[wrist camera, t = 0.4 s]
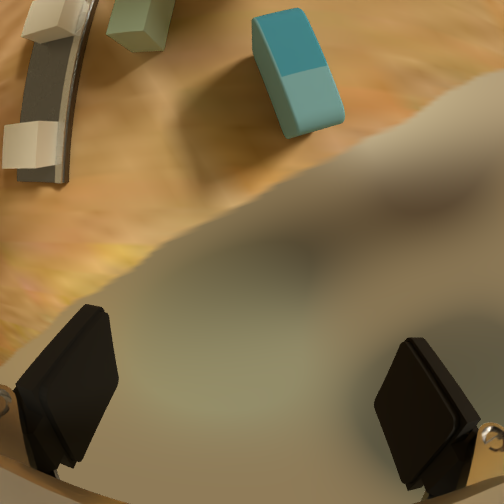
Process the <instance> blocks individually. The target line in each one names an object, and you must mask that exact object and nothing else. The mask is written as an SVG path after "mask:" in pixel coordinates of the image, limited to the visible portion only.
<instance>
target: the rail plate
mask: <svg viewBox="0 0 504 504" xmlns="http://www.w3.org/2000/svg"><path fill="white" fill-rule="evenodd" d="M98 1H99V0H85V1H84V4H83V8H82V11H81V14H80V17H79V21H78V24H77V28H76V31H75V35H74V36H70V37H66V38H61V39H57V40H53V41H49V42H45V43H41V44H40V43H37V42H35V43H34V46H33V50H32V55H31V59H30V63H29V68H28V73H27V78H26V84H25V90H24V96H23V103H22V110H21V118H20V123H24V122H32V121H54V122H59V123H58V133H57V146H56V162H55V165H52V166H46V167H40V168H17V181H25V182H55V183H66V182H69V164H70V148H71V136H72V126H73V117H74V109H75V101H76V95H77V88H78V82H79V77H80V71H81V66H82V61H83V57H84V52H85V48H86V44H87V39H88V35H89V32H90V28H91V24H92V21H93V17H94V14H95V10H96V7H97V4H98Z"/></svg>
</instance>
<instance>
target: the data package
mask: <svg viewBox="0 0 504 504" xmlns="http://www.w3.org/2000/svg"><path fill="white" fill-rule="evenodd" d="M252 51H253V55H254V58H255V61H256V63H257V66H258V68H259V71H260V73H261V76H262V78H263V81H264V84H265V86H266V89H267V91H268V94H269V97H270V99H271V102H272V105H273V107H274V110H275V113H276V115H277V118H278V121H279V124H280V126H281V129H282V132H283V134H284V136H285V137H286V138H287V139H290V138H293V137H297V136H300V135H303V134H307V133H310V132H314V131H317V130H321V129H324V128H327V127H331V126H334V125H338V124H341V123H343V122H344V119H345V112H344V107H343V104H342V101H341V98H340V95H339V92H338V90H337V87H336V84H335V82H334V79H333V77H332V74H331V72H330V69H329V67H328V64H327V62H326V59H325V57H324V54H323V52H322V50H321V47H320V45H319V43H318V41H317V38H316V36H315V34H314V32H313V30H312V27H311V25H310V23H309V21H308V19H307V17H306V15H305V13H304V12H303V11H302V10H301V9H300V8H294V9H289V10H284V11H279V12H275V13H271V14H267V15H263V16H259V17H255V18H253V19H252Z"/></svg>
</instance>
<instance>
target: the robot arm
mask: <svg viewBox="0 0 504 504" xmlns="http://www.w3.org/2000/svg"><path fill="white" fill-rule="evenodd" d="M118 380H119V377H118V372H117V366H116V360H115V354H114V348H113V342H112V335H111V328H110V320H109V315H108V313H105V312H104V309H103V308H102V307H99V306H94V305H89V304H85V305H84V306H83V307H82V308H81V309H80V310H79V311H78V312H77V313H76V314H75V315H74V316H73V318H72V319H71V320H70V321H69V322H68V323H67V324H66V325H65V326H64V328H63V329H62V330H61V331H60V332H59V333H58V334H57V335H56V336H55V337H54V339H53V340H52V341H51V342H50V343H49V344H48V345H47V347H46V348H45V349H44V350H43V351H42V352H41V354H40V355H39V356H38V357H37V358H36V359H35V361H34V362H33V363H32V364H31V365H30V367H29V368H28V369H27V370H26V371H25V373H24V374H23V375H22V376H21V378H20V379H19V380H18V381H17V383H16V387H15V389H14V390H13V391H12V390H11V389H10V388H9V387H7V386H5V385H1V384H0V504H129V503H126V502H122V501H118V500H115V499H112V498H109V497H106V496H103V495H100V494H96V493H93V492H90V491H88V490H85V489H82V488H79V487H77V486H74V485H71V484H69V483H66V482H64V481H61V480H60V478H59V475H58V472H57V470H56V469H57V468H58V466H59V464H60V463H61V464H63V465H66V466H68V467H71V468H74V466H75V464H76V462H77V461H78V462H81V461H82V459H83V457H84V455H85V453H86V450H87V448H88V446H89V444H90V442H91V440H92V437H93V435H94V433H95V431H96V429H97V427H98V425H99V423H100V420H101V418H102V416H103V414H104V412H105V410H106V407H107V406H108V404H109V402H110V400H111V398H112V396H113V394H114V392H115V390H116V388H117V385H118ZM374 408H375V411H376V414H377V416H378V419H379V421H380V424H381V427H382V429H383V432H384V435H385V437H386V440H387V443H388V445H389V448H390V451H391V454H392V456H393V459H394V462H395V465H396V468H397V471H398V473H399V476H400V479H401V481H402V483H404V484H406V487H407V490H408V491H409V490H413V489H417V488H421V487H422V486H423V485H424V486H425V489H426V490H425V492H424V495H423V497H422V499H421V502H417V503H414V504H504V427H502V426H501V425H499V424H496V423H492V422H489V423H485V424H483V425H482V426H481V427H480V428H479V429H478V428H477V426H476V425H477V423H478V422H479V421H480V420H481V418H480V417H479V415H478V414H477V412H476V411H475V409H474V408H473V406H472V405H471V403H470V402H469V400H468V399H467V397H466V396H465V394H464V393H463V391H462V390H461V388H460V387H459V385H458V384H457V383H456V381H455V380H454V378H453V377H452V375H451V374H450V373H449V371H448V370H447V368H446V367H445V366H444V364H443V363H442V362H441V360H440V359H439V357H438V356H437V355H436V353H435V352H434V351H433V350H432V348H431V347H430V345H429V344H428V343H427V341H426V340H425V339H424V338H407V339H406V340H405V341H404V342H402V343H401V344H400V346H399V349H398V351H397V353H396V356H395V358H394V360H393V363H392V365H391V367H390V369H389V371H388V374H387V376H386V378H385V380H384V382H383V384H382V386H381V388H380V390H379V392H378V394H377V396H376V399H375V402H374Z"/></svg>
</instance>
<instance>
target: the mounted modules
mask: <svg viewBox="0 0 504 504" xmlns="http://www.w3.org/2000/svg"><path fill="white" fill-rule="evenodd" d="M84 1H85V0H35V1H32V4H31V7H30V10H29V13H28V16H27V19H26V22H25V25H24V28H23V32H22V35H21V37H23V38H26V39H29V40H31V41H34V42H37V43H40V44H41V43H45V42H49V41H53V40H57V39H61V38H66V37H70V36H74V35H75V31H76V28H77V24H78V21H79V17H80V14H81V11H82V8H83V4H84ZM58 123H59V122H54V121H32V122H24V123H16V124H9V125H4V137H3V153H2V169H16V168H40V167H46V166H52V165H55V162H56V146H57V133H58Z"/></svg>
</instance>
